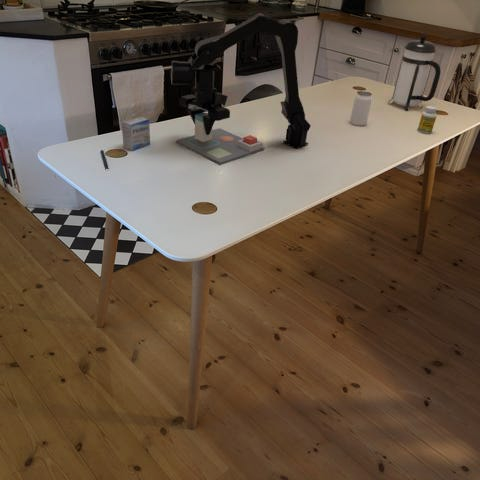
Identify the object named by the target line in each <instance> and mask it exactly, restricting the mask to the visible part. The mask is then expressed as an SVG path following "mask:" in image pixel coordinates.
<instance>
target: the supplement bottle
mask: <svg viewBox="0 0 480 480" xmlns="http://www.w3.org/2000/svg"><path fill="white" fill-rule="evenodd" d="M437 109H438V108H437V107H436V106H434V105H426V106H425V111H423V112H422V113H421V116H420V121H419V124H418V127H417V132H419V133H420V134H424V135H426V134H427V135H429V134H431V133H432V132H433V128H434V125H435V123H436V119H437V117H438V115H437V113H436V112H437Z"/></svg>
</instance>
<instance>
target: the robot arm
mask: <svg viewBox="0 0 480 480" xmlns="http://www.w3.org/2000/svg"><path fill="white" fill-rule="evenodd" d="M298 29H299V28H298V27H297V25H296V24H295V23H294V22H292V21H290V20H289V19H286V18H283V19H280V20H278V19H276V18H273V17H270V16H267V15H265V14H263V13H256V14H254V15H253V16H252V17H250V18H248V19H246V20H245V21H243V22H241V23H239V24H238V25H236V26H234V27H233V28H231V29H229V30H227V31H225V32H224V33H221V34H219V35H215V36H210V37H207V38H204V39H201V40H199V41H197V43H196V44H195V47H194V52H193V53H192V55H191V56H190V57H189V58H188V61H178V60H172V61H171V70H170V80H171V85H173V86H174V85H175V86H176V85H177V86H181V85H182V86H183V85H185V86H190V85H191V84H193V82H194V81H195V86H194V87H192V92H195V93H194V94H195V95H194V94H186V95H181V96H180V98H179V100H178V103H179V104H178V106H180V107H182V108H186V107H187V108H186V111H187V113H188V114H189V116H190V118H191V120H192V123H193V124H194V125H195V114H199V113H203V112H204V111H205V112H206V113H207V115H206V116H203V122H204V127H205V132H206V135H209V134H210V132H211V129H212V130H213V126H214V124H215V122H216V121H217V122H218V121H223V120H226V119H230V118H231V117H230V116H231V110H230V109H229V108H227V107H225V106H226V103H227V100H228V95H226V94H223V93H221V92H218V89H217V88H216V87H214V86H215V72H221V71H222V68H221V67H220V66H219V65H218V64H217V62H216V60H217V59H219V58H220V57H221V56H222V55H223V53H225V51H227V50H228V49H229V48H231V47H233V46H234V45H235V46H236V44H238V43H240V42H242V41H244V40H245V39H248V38H249V37H251V36H253V35H255V34H257V33H258V32H261V31H264V32H267V33H269V34H271V35H274V36H275V40H276V43H277V45H278V48H279V50H280V53H281V64H282V72H283V84H284V92H285V97H284V101H280V106H281V114H282V115H283V117H284V118H285V119H286V120H287V122H288V125H287V128H286V131H285V140H283V142H282V143H283V144H284V145H287V146H289V147H292V148H294V149H300V148H302V147H305V146H308V145H309V143H308V142H307V139H308V138H307V137H308V131H309V130H310V129H311V124H310V123H309V122H308V120H307V119H306V113H305V110H304V106H303V103H302V101H301V98H300V94H299V80H298V72H297V71H298V70H297V60H296V50H297V48H298V47H297V46H298V39H299V30H298ZM218 104H219V106H218ZM214 106H216V107H214Z"/></svg>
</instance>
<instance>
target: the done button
mask: <svg viewBox="0 0 480 480" xmlns="http://www.w3.org/2000/svg"><path fill="white" fill-rule="evenodd" d="M257 140H258V138H257V137H256V136H253V135H251V134H250V135H246V136H243V142H245V143H247V144H249V145H251V144H254V143H257Z"/></svg>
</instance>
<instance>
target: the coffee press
mask: <svg viewBox="0 0 480 480" xmlns="http://www.w3.org/2000/svg"><path fill="white" fill-rule="evenodd" d="M426 39H427V35H426V34H421V36H420V39H412V40H409V41H408V42H407V43H406V44H405V45H404V50H403V51H404V52H403V55H402V57H401V62H400V67H399V70H398V73H397V78H396V81H395V82H396V83H395V86H394V91H393V94H392V96H391V98H390V99H389V101H388V105H390V106H391V105H393V104H397V105H399V106H404V111H405V112H408V111H409V108H410V107H411V108H412V107H413V108H414V107H418V108H419V109H420V110H421V109H423V107H424V106H423V104H422V101H423V102H428V101H431V100H432V99H433V97H434V96H435V94H436V91H437V88H438V84H439V80H440V76H441V66H440V64H439V63H438V62H437V61H434V56H435V53H436V52H437V48H436V45H435V44H434V43H433V42H431V41H429V40H426ZM432 67H433V68H434V70H435V72H434V73H435V74H434V78H433V81H432V85H431V88H430V91H429V94H428V95H427V96H424V94H425V89H426V86H427V84H428V79H429V76H430V73H431V69H432ZM390 102H391V103H390ZM420 104H421V106H419V105H420Z"/></svg>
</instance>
